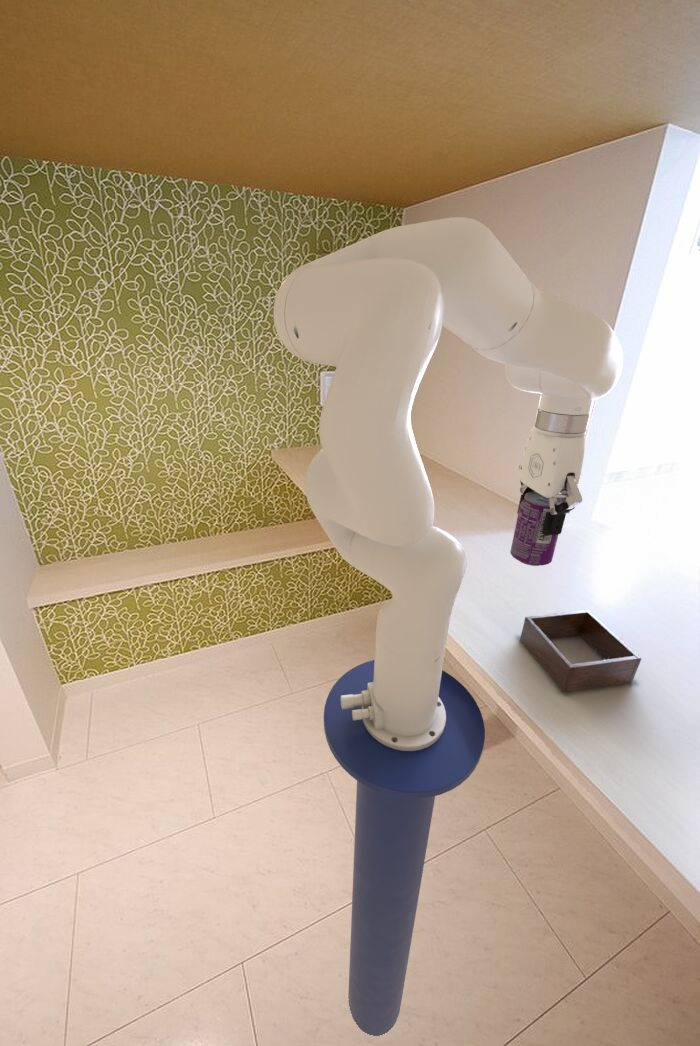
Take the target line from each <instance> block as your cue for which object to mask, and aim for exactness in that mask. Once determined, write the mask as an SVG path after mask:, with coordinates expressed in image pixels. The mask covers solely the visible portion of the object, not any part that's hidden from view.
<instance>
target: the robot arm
mask: <svg viewBox="0 0 700 1046" xmlns="http://www.w3.org/2000/svg"><path fill="white" fill-rule="evenodd" d="M272 314H273V324H274V328H275V332H276V334H277V336H278V338H279V340H280V342H281V343H282V345H284V347H285V349H286V350H287V351H289V353H291V354H292V355H293V356H295V357H296V358H298V359H300V360H302V361H305V362H307V363H311V364H315V365H323V366H328V367H329V366H330V367H335V371H334V374H333V377H332V380H331V382H330V385H329V388H328V391H327V393H326V396H325V400H324V403H323V406H322V408H321V413H320V416H319V421H318V422H319V423H318V435H319V442H320V445H321V449H320V450H319V451H318V452H316V454H315V455H314V456H313V458H312V460H311V461H310V463H309V465H308V468H307V470H306V474H305V483H304V486H305V487H304V490H305V495H306V500H307V503H308V506H309V508H310V510H311V512H312V513H313V515H314V516H315V518H316V520H317V521H318V523H319V524H320V527H321V528H322V529H323V531H324V532H325V535H326V536H327V537H328V539H329V540H330V542H331V543H332V545H333V546H334V548H335V550H336V551H337V552H338V554H339V555H340V556H341V557H342V559H343V560H344V561H345V562H346V563H347V564H349V565H350V566H352V567H353V568H355V569H356V570H358V571H359V572H361V573H363V574H364V575H366V576H368V577H369V578H371V579H373V580H374V581H376V582H377V583H379V584H380V585H381V586H383V587H385V588H386V589H387V590H388V591H390V593H391V596H392V597H391V598H390V599H388V600H387V601H386V602H384V604H383V605H382V606H381V607H380V609H379V611H378V613H377V617H376V623H375V624H376V625H375V643H374V645H375V646H374V660H375V662H374V679H373V682H370V683H368V687H367V690H365V691H361V694H356V695H353V694H350V695H342V696H341V707H342V709H349V708H354V707H359V706H362V710H361V709H358V710H352V718H353V721H354V720H361V719H363V723H364V725H365V727H366V729H367V730H368V732H369V733H370V734H371V735H372V736H373V737H374V738H375V739H376V740H377V741H378V742H380V743H382V744H383V745H385V746H387V747H390V748H393V749H396V750H401V751H416V750H421V749H424V748H427V747H429V746H430V745H432V744H434V743H435V742H436V741H437V740H438V739H439V738H440V736H441V735H442V733H443V731H444V728H445V722H446V711H445V708H444V705H443V703H442V701H441V699H440V698H439V697H438V696H439V689H440V682H441V675H442V670H443V668H444V661H445V654H446V647H447V640H448V633H449V628H450V622H451V621H450V620H451V618H452V617H451V616H452V611H453V607H454V605H455V601H456V599H457V596H458V593H459V591H460V587H461V585H462V582H463V580H464V578H465V575H466V571H467V565H468V558H467V554H466V551H465V549H464V547H463V546H462V544H461V543H460V542H459V541H458V540H457V539H456V538H455V537H454V536H452V535H451V534H450V533H448V532H447V531H445V530H444V529H441V528H439V527H437V526H435V525H434V520H435V513H436V510H435V509H436V507H435V500H434V495H433V492H432V487H431V485H430V482H429V478H428V475H427V472H426V469H425V466H424V463H423V461H422V457H421V455H420V452H419V449H418V445H417V443H416V439H415V435H414V433H413V428H412V421H411V420H412V419H411V413H412V407H413V404H414V400H415V396H416V395H417V392H418V390H419V385H420V383H421V381H422V378H423V376H424V374H425V372H426V369H427V367H428V365H429V362H430V360H431V359H432V356H433V354H434V352H435V350H436V347H437V345H438V342H439V339H440V337H441V333H442V329H443V327H444V328H445V329H446V330H448V331H449V332H450V333H452V334H454V335H455V336H456V337H457V338H458V339H460V340H462V341H463V342H464V343H465V344H466V345H468V346H469V347H470V348H471V349H472V350H474V351H475V352H477V353H478V354H479V355H481V356H482V357H484V358H486V359H488V360H491V361H494V362H497V363H500V364H503V365H504V374H505V378H506V380H507V382H508V383H509V384H510V386H512V387H513V388H515V389H517V390H519V391H523V392H527V393H532V394H540V396H539V402H538V408H537V411H536V416H535V421H534V425H532V426H531V427H532V428H531V430H530V432H529V435H528V437H527V440H526V442H525V446H524V449H523V453H522V456H521V460H520V464H519V466H518V476H517V477H518V479H519V483H520V486H521V487H520V488H519V491H520V497H519V498H520V499H519V503H518V508H517V512H516V514H517V515H518V512H519V507H520V504H521V502H522V501H523V500H524V498H525V494H526V493H528V492H537V493H539V494H540V495H542V496H544V497H546V498H549V505H550V512H547V514H546V518H545V522H544V526H543V530H542V533H543V534H544V535H557V534H559V535H561V534H562V531H563V527H564V523H565V520H566V515H568V514H570V512H572V511H573V510H575V508H576V507H578V506H579V505H580V504H581V503H582V502H583V497H582V494H581V492H580V489H579V482H580V479H581V478H580V477H581V474H582V469H583V463H584V457H585V449H586V448H585V447H586V434H587V429H588V426H589V422H590V419H591V414H592V410H593V407H594V402H595V400H598V399H601V398H602V397H605V396H606V395H607V394H609V393H610V392H611V391H612V389H613V388H615V386H616V384H617V383H618V380H619V378H620V376H621V373H622V370H623V361H624V360H623V359H624V357H623V350H622V346H621V343H620V341H619V339H618V337H617V335H616V333H615V332H614V330H613V328H612V327H611V325H610V324H609V323H608V322H607V321H606V320H605V319H603V318H602V317H601V316H599V315H597V314H596V313H594V312H592V311H589V310H588V309H585V308H584V307H581V306H579V305H576V304H573V303H571V302H569V301H567V300H565V299H563V298H561V297H558V296H556V295H554V294H552V293H549V292H546V291H542V290H540V289H538V288H537V287H536V286H535V285H534V283H533V281H531V279H530V278H529V277H528V276H527V275H526V274H525V273H524V271H523V270H522V269H521V268H520V266H519V265H518V264H517V263H516V261H515V260H514V258H513V257H512V256H511V254H510V253H509V252H508V250H507V249H506V248H505V247H504V245H503V244H502V242H500V240H499V239H498V238H497V237H496V235H495V234H494V233H493V231H491V229H490V228H489V227H487V226H486V225H485V224H484V223H482V222H481V221H479V220H476V219H474V218H471V217H465V216H455V217H454V216H453V217H446V218H445V217H444V218H439V219H433V220H427V221H422V222H416V223H409V224H405V225H398V226H395V227H390V228H388V229H384V230H381V231H380V232H377V233H374V234H372V235H370V236H368V237H365V238H363V239H361V240H359V241H356V242H354V243H352V244H349V245H347V246H345V247H343V248H340V249H338V250H336V251H333V252H331V253H328V254H326V255H324V256H321V257H319V258H316V259H314V260H312V261H310V262H307V263H305V264H302V265H301V266H299V267H297V268H295V269H294V270H293V271H291V273H290V274H288V275H287V276H286V278H285V279H284V280H283V281H282V283H281V284H280V286H279V288H278V290H277V292H276V294H275V299H274V303H273V313H272ZM558 498H561V502H562V503H561V504H559V505H558V506H557V499H558Z"/></svg>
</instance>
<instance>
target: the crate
mask: <svg viewBox="0 0 700 1046" xmlns="http://www.w3.org/2000/svg"><path fill="white" fill-rule="evenodd" d="M579 635H580V636H581V637H582V638H583V639H584V640H585V641H587V643H588V644H589V645H590V646H592V648H593V649H594V650H595V651H596V652H597V653H598V654H599V655H600V656H601V657H602V658H603V659H601V660H593V661H586V662H579V663H571V662H570V661H569V660H568V659H567V657H566V656H565V655H564V654H563V653H562V652H561V651H560V650H559V648H557V646H556V645H555V644H554V643H553V642H552V641H551V639H554V638H555V639H556V638H562V637H570V636H579ZM519 639H520V641H521V642H522V644H523V645H524V646H525V647H526V648H527V650H528V652H530V653H531V655H532V656H533V658H534V659H535V660H536V661H537V662H538V663H539V665H540V666H541V667H542V669H543V670H544V671H545V672H546V673H547V675H548V677H549V678H550V679H551V680H552V681H553V682H554V684H555V685H556V686H557V687H558V688H559V690H560V691H561V692H562V693H568V692H574V691H580V690H581V691H582V690H589V689H595V688H602V687H609V686H615V685H623V684H628V683H633V681H634V679H635V676H636V674H637V671H638V670H639V669H638V668H639V666H640V664H641V661H642V657H641V656H640V655H638V653H637V652H635V651H634V650H633V649H632V648H631V647H630V646H629V645H628V644H626V642H624V641H623V640H622V639H621V638H620V637H619V636H618V635H616V634H615V632H613V630H611V629H610V628H609V627H608V626H607V625H606V624H605V623H603V622H602V621H601V619H599V618H598V617H597V616H596V615H594V614H593V613H592V612H591V611H590V609H584V610H574V611H568V612H567V611H566V612H558V613H549V614H548V613H547V614H539V615H528V616H525V617H524V621H523V625H522V630H521V634H520V638H519Z"/></svg>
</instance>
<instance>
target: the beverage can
mask: <svg viewBox="0 0 700 1046" xmlns="http://www.w3.org/2000/svg"><path fill="white" fill-rule="evenodd" d="M561 503H562V502H561V498H558V499H557V506H558V505H559V504H561ZM518 507H519V506H518ZM517 512H518V511H517ZM547 512H550V505H549V498H546V497H544V496H542V495H540V494H539V493H537V492H528V493H526V494H525V498H524V500H523V501H522V502H521V504H520V507H519V512H518V514H517V517H516V522H515V527H514V532H513V535H512V536H513V537H512V541H511V547H510V552H509V553H510V555H511V556H512V557H513V559H515V560H517V561H518V562H519V563H522V564H524V565H527V566H532V567H539V566H546V565H549V564H551V563H552V562H553V558H554V555H555V549H556V546H557V543H558V538H559V535H560V534H557V535H544V534H543V533H542V530H543V526H544V522H545V518H546V514H547Z"/></svg>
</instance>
